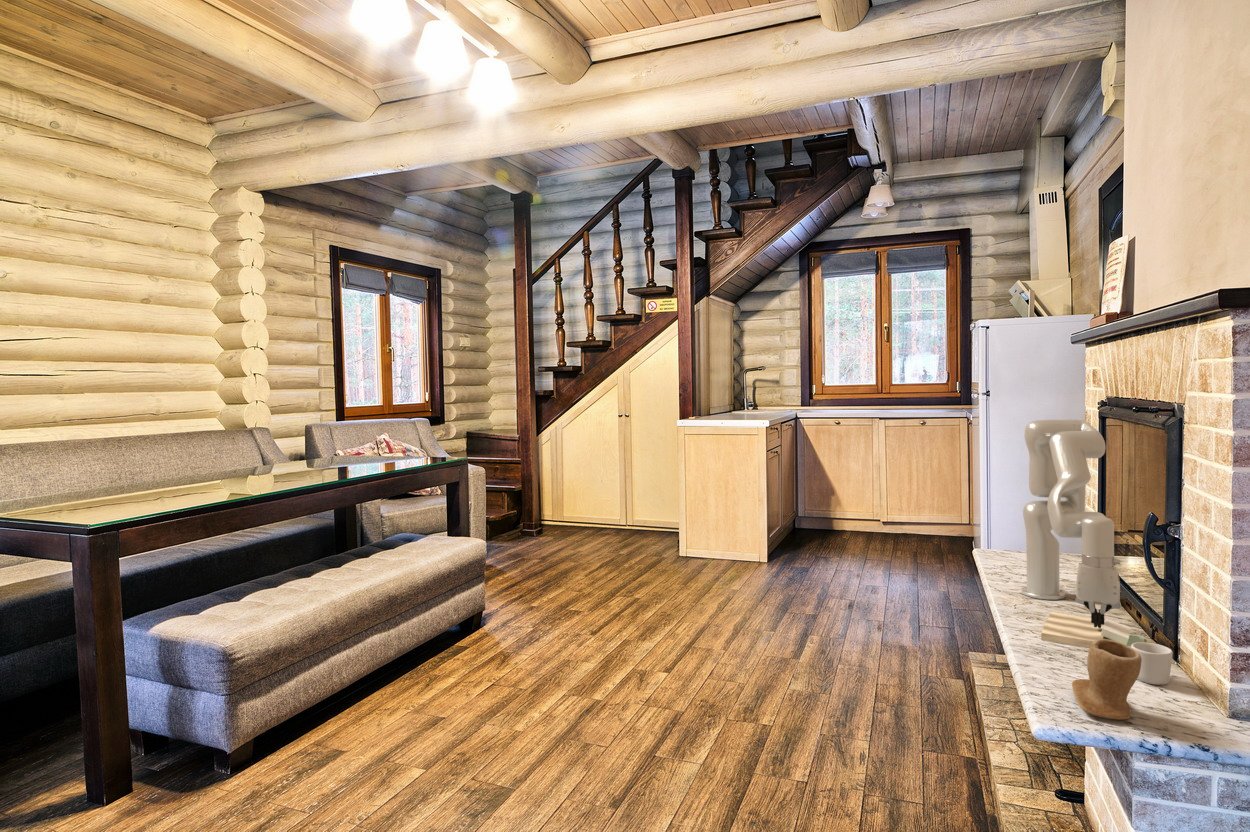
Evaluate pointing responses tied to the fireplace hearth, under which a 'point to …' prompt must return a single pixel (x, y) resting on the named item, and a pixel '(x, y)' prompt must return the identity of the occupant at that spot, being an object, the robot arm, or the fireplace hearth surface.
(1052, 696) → the fireplace hearth surface
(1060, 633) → the wavy wooden board
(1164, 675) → the cup
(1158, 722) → the fireplace hearth surface
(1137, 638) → the mat
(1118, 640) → the cream rectangular block
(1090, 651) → the brown hollow flared vessel
